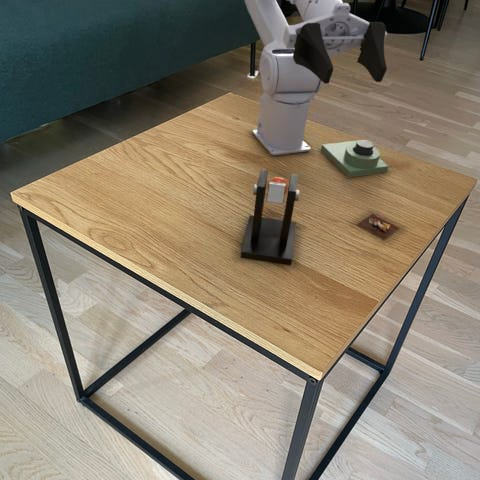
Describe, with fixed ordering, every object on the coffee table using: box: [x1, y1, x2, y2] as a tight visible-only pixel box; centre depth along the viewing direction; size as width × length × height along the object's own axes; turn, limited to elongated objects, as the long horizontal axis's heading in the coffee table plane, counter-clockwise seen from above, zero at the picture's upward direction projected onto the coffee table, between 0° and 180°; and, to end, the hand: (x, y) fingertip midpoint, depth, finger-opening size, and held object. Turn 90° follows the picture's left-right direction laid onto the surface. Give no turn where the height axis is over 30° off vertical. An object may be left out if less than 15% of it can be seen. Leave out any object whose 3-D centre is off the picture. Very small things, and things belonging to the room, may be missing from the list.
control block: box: [320, 140, 389, 178], centre depth 89 cm, size 10×8×3 cm
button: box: [354, 139, 375, 156], centre depth 86 cm, size 3×3×2 cm
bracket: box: [240, 169, 301, 266], centre depth 67 cm, size 9×7×10 cm
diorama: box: [356, 213, 400, 240], centre depth 75 cm, size 3×4×2 cm
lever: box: [265, 176, 289, 205], centre depth 69 cm, size 11×3×3 cm, turn 172°
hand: (355, 76), depth 65 cm, fingers open, 7 cm apart
